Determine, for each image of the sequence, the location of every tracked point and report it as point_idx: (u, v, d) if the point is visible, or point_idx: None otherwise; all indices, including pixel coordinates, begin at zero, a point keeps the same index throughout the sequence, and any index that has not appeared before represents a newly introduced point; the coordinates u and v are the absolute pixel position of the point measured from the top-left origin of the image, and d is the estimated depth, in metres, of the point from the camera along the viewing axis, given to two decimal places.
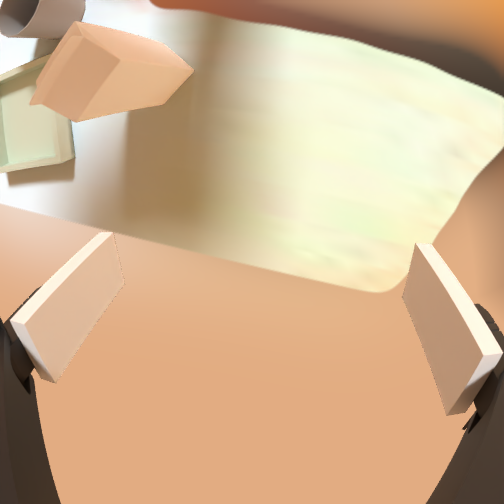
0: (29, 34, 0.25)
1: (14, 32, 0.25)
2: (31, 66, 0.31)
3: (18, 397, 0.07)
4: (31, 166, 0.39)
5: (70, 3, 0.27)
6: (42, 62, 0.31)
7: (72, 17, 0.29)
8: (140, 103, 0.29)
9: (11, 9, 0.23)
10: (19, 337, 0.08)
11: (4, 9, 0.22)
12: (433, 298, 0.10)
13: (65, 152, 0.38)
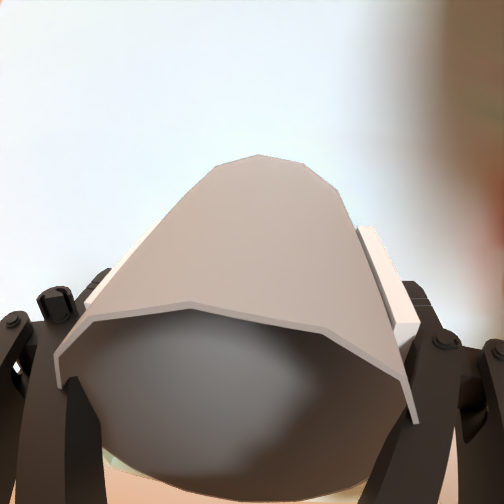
0: (253, 448, 0.10)
1: (154, 405, 0.10)
2: None
3: (82, 389, 0.07)
4: None
5: None
6: None
7: None
8: None
9: None
10: None
11: (77, 360, 0.07)
12: None
13: None
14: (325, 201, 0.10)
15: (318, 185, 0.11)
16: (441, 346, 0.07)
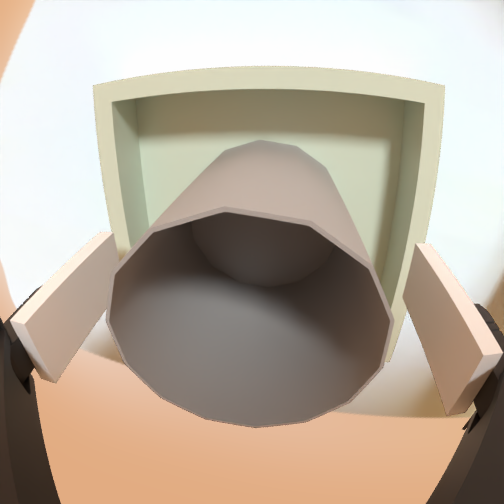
0: (264, 383, 0.13)
1: (178, 345, 0.13)
2: (352, 89, 0.12)
3: (18, 397, 0.07)
4: None
5: None
6: (403, 96, 0.12)
7: (330, 271, 0.16)
8: None
9: (136, 263, 0.11)
10: (19, 337, 0.08)
11: (122, 288, 0.09)
12: (433, 298, 0.10)
13: None
14: (314, 170, 0.13)
15: (309, 160, 0.14)
16: None
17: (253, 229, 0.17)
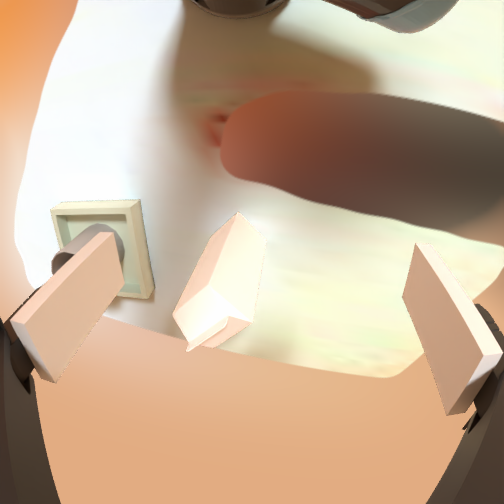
0: None
1: None
2: (106, 213, 0.45)
3: (18, 397, 0.07)
4: None
5: None
6: (119, 213, 0.45)
7: None
8: None
9: (59, 260, 0.44)
10: (19, 337, 0.08)
11: (55, 264, 0.43)
12: (433, 298, 0.10)
13: (149, 288, 0.52)
14: None
15: (103, 231, 0.47)
16: None
17: None
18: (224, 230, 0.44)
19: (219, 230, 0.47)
